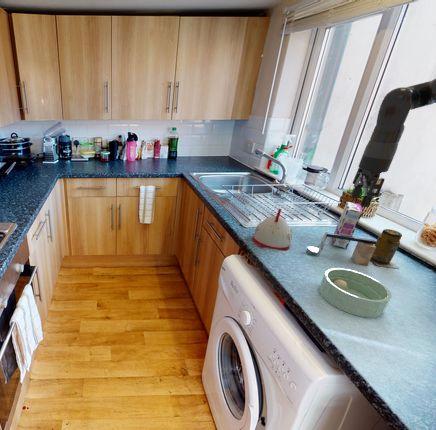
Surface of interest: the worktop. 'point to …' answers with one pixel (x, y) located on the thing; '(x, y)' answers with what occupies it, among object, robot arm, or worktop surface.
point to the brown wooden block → (363, 253)
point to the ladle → (316, 252)
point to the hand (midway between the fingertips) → (359, 202)
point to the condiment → (386, 248)
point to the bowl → (355, 292)
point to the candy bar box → (347, 223)
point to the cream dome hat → (273, 233)
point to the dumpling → (340, 284)
